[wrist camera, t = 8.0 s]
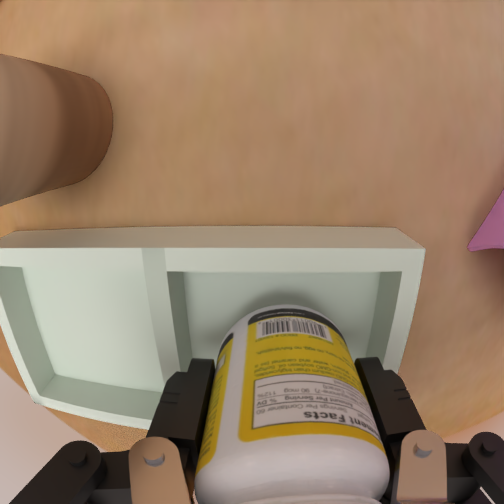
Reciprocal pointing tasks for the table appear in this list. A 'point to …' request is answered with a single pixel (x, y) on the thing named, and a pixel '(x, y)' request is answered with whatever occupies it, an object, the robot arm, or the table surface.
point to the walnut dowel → (48, 127)
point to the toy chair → (490, 229)
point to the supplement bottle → (288, 417)
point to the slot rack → (186, 302)
